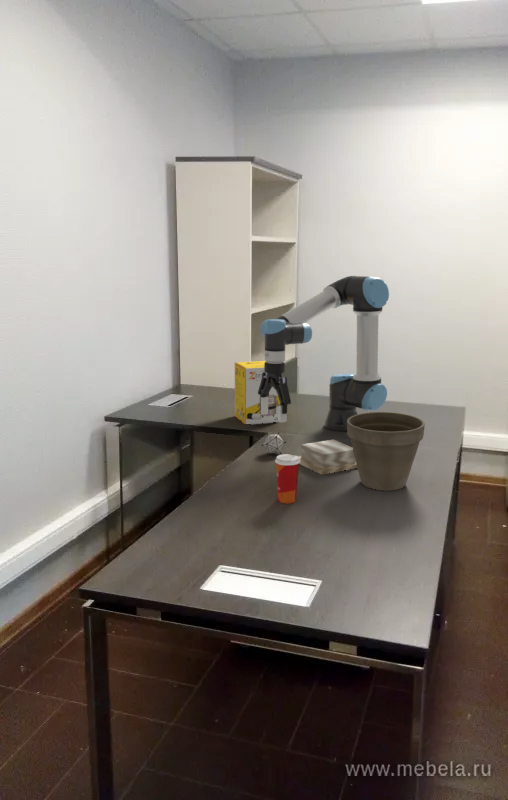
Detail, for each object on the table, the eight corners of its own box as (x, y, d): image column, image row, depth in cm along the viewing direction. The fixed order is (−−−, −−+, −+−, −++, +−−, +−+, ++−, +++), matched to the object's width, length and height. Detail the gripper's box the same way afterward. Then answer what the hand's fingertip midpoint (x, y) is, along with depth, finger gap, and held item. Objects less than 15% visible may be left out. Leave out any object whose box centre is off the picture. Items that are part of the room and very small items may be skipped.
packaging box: (268, 413, 328) (268, 360, 322) (280, 422, 313) (281, 366, 307) (234, 416, 323) (234, 362, 317) (245, 425, 308) (245, 368, 302)
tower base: (334, 454, 266) (334, 437, 265) (363, 467, 251) (364, 449, 250) (293, 460, 258) (293, 443, 257) (321, 475, 243) (321, 456, 241)
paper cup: (283, 494, 224) (283, 452, 221) (303, 499, 220) (304, 456, 217) (269, 501, 218) (269, 458, 215) (290, 506, 214) (291, 462, 211)
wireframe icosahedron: (277, 464, 266) (283, 448, 258) (256, 455, 267) (262, 439, 259) (285, 447, 272) (291, 431, 264) (264, 439, 273) (270, 423, 265)
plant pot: (370, 501, 218) (373, 434, 213) (331, 477, 240) (333, 415, 235) (436, 490, 228) (440, 425, 223) (392, 468, 250) (395, 408, 245)
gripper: (249, 357, 267) (248, 411, 272) (283, 367, 246) (282, 426, 251) (266, 356, 271) (265, 410, 276) (301, 366, 250) (299, 424, 254)
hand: (273, 418), depth 263 cm, fingers open, 13 cm apart
